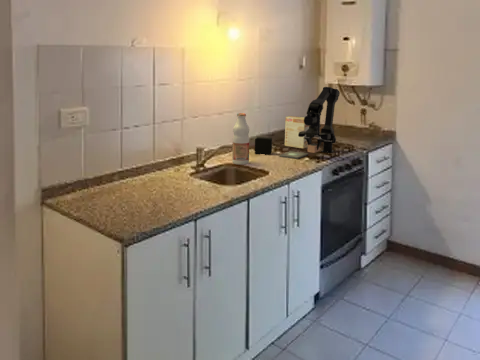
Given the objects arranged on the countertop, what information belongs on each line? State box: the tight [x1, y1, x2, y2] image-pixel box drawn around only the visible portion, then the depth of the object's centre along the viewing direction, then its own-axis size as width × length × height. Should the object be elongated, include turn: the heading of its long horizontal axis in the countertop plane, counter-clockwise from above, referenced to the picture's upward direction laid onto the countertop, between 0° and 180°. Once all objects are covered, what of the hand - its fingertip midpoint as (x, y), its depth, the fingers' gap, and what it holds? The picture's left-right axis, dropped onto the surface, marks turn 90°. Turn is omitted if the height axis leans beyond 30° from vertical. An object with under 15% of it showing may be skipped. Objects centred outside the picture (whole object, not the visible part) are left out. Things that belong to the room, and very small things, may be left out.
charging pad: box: [278, 150, 309, 160], centre depth 322 cm, size 15×12×1 cm
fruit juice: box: [231, 112, 250, 165], centre depth 297 cm, size 9×9×28 cm
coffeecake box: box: [284, 115, 309, 149], centre depth 350 cm, size 15×7×20 cm, turn 51°
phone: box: [306, 143, 321, 154], centre depth 317 cm, size 8×4×4 cm, turn 149°
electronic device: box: [254, 136, 273, 156], centre depth 325 cm, size 4×10×10 cm, turn 78°
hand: (313, 149), depth 317 cm, fingers closed on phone, 4 cm apart
